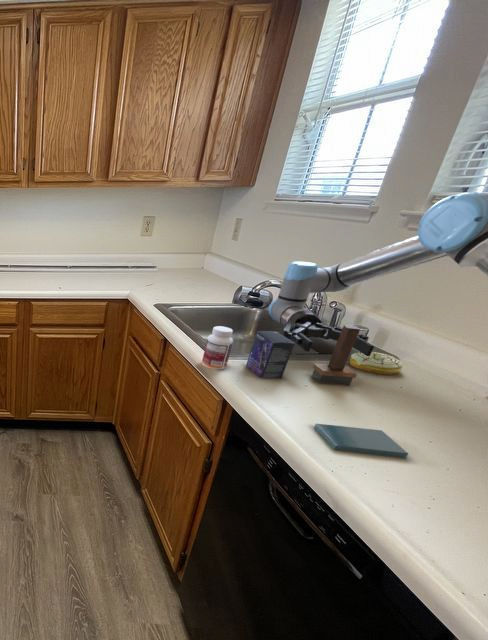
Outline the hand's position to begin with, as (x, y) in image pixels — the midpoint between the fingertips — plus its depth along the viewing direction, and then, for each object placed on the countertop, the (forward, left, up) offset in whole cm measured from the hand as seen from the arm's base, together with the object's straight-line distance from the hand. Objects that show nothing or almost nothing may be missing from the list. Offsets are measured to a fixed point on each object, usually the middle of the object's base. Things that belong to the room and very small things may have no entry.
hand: (339, 348), depth 105 cm
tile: (+9, +31, -9) cm, 34 cm away
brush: (0, +1, -9) cm, 9 cm away
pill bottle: (+27, -3, -9) cm, 29 cm away
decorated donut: (-16, -11, -9) cm, 21 cm away
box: (+15, -1, -9) cm, 18 cm away
